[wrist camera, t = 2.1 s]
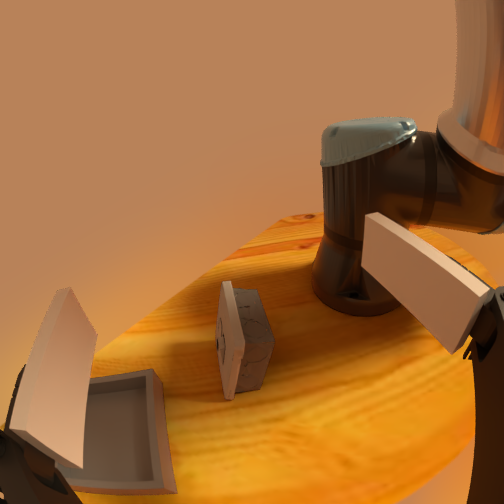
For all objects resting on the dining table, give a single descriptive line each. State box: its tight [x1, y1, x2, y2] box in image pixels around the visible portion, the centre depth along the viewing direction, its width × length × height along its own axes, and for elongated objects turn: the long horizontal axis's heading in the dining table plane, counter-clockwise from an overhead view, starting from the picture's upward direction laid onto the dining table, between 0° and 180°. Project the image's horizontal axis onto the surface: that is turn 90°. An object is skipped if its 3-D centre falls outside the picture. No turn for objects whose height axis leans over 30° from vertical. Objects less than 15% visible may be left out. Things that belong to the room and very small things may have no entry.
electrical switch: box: [216, 281, 275, 400], centre depth 27 cm, size 9×5×9 cm, turn 11°
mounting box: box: [55, 369, 177, 495], centre depth 20 cm, size 13×14×3 cm
